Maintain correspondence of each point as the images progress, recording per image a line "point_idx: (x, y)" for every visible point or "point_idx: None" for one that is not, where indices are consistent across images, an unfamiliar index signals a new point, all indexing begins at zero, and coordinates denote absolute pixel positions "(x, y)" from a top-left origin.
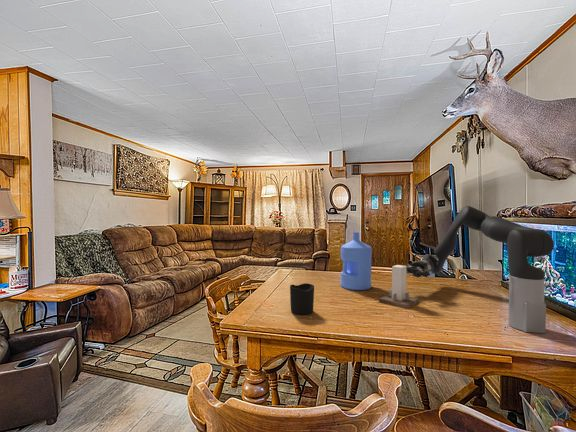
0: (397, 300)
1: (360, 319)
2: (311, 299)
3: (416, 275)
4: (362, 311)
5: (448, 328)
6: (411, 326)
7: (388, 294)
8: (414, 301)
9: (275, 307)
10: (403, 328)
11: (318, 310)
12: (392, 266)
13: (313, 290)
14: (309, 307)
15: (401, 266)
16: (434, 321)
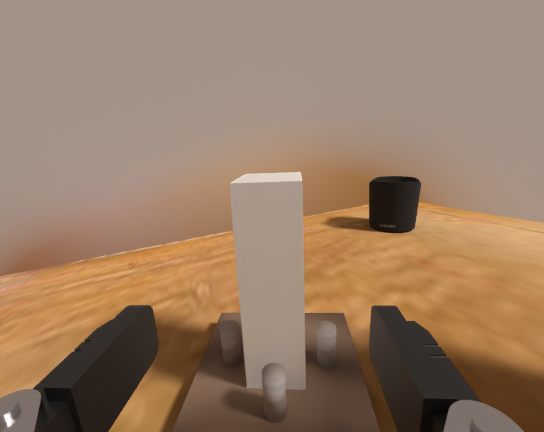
0: None
1: None
2: (370, 201)
3: (150, 333)
4: (318, 261)
5: (116, 280)
6: (198, 259)
7: (366, 392)
8: (195, 381)
9: (434, 220)
10: (211, 250)
11: (380, 235)
12: (297, 172)
13: (374, 187)
14: (369, 213)
15: (254, 177)
16: (140, 292)
